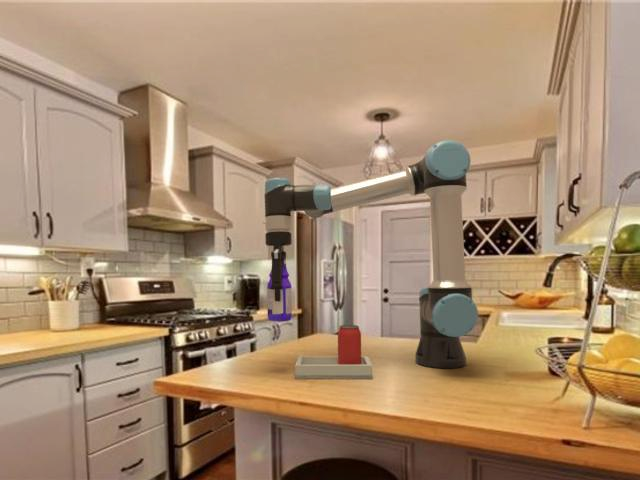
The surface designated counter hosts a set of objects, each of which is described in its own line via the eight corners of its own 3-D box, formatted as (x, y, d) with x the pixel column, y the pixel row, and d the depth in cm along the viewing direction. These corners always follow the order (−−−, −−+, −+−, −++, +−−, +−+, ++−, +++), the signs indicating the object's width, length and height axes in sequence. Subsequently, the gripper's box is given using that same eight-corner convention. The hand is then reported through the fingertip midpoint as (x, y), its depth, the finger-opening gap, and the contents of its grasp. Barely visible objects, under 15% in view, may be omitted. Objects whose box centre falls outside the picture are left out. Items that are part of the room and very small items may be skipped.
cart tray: (367, 368, 120) (367, 356, 121) (372, 379, 108) (372, 365, 108) (298, 368, 121) (298, 356, 121) (295, 379, 109) (295, 365, 109)
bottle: (295, 320, 116) (294, 259, 118) (280, 322, 112) (279, 259, 114) (279, 319, 121) (277, 260, 123) (263, 321, 117) (263, 260, 119)
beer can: (349, 373, 110) (349, 328, 111) (333, 369, 115) (332, 326, 116) (366, 369, 114) (365, 326, 115) (349, 365, 119) (349, 324, 120)
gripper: (270, 235, 129) (271, 309, 127) (259, 228, 109) (261, 315, 107) (294, 234, 129) (295, 308, 127) (287, 227, 109) (289, 315, 107)
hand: (279, 311), depth 117 cm, fingers closed on bottle, 7 cm apart
